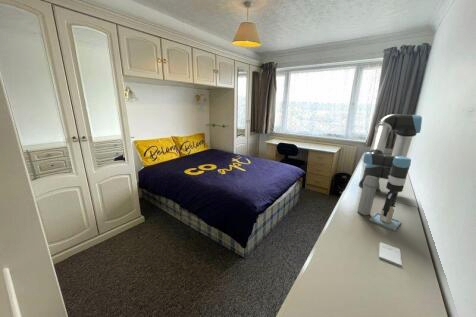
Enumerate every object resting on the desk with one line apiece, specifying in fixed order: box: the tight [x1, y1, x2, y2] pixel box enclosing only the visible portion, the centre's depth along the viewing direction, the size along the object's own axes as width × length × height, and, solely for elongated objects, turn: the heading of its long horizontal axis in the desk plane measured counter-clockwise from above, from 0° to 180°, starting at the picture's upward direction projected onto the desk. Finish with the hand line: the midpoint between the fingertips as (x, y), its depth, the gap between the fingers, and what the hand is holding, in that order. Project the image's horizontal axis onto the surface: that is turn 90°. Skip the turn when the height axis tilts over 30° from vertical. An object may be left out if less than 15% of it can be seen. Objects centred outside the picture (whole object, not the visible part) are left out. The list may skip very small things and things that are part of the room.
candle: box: [380, 205, 395, 223], centre depth 116 cm, size 6×6×10 cm
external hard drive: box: [378, 241, 403, 268], centre depth 91 cm, size 2×8×12 cm
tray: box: [368, 211, 402, 232], centre depth 117 cm, size 13×13×1 cm
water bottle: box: [357, 176, 378, 216], centre depth 122 cm, size 9×8×25 cm
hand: (385, 218), depth 117 cm, fingers open, 7 cm apart
